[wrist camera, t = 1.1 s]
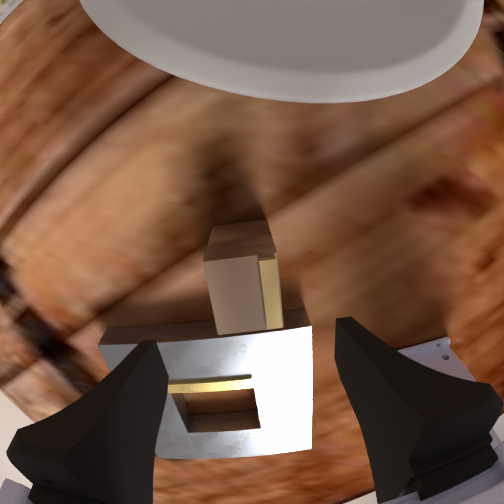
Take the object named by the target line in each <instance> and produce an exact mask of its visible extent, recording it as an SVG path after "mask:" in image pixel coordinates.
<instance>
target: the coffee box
mask: <svg viewBox="0 0 504 504" xmlns="http://www.w3.org/2000/svg"><path fill="white" fill-rule="evenodd" d="M22 1H23V0H0V24H1V23H2V22H3V21H4V20H5V18H6V17H7V16H8V15H9V14H10V13H11V12H12V11H13V10H14V9H15V8H16V7H17V6H18V5H19V4H20V3H21V2H22Z"/></svg>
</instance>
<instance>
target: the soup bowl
mask: <svg viewBox="0 0 504 504" xmlns="http://www.w3.org/2000/svg"><path fill="white" fill-rule="evenodd" d="M79 1H80V3H81V4H82V6H83V8H84V10H85V11H86V13H87V14H88V15H89V17H90V18H91V20H92V21H93V22H94V23H95V24H96V25H97V26H98V27H99V28H100V30H101V31H102V32H103V33H104V34H105V35H107V36H108V37H109V38H110V39H111V40H113V41H114V42H115V43H116V44H118V45H119V46H120V47H122V48H123V49H125V50H126V51H128V52H129V53H131V54H133V55H134V56H136V57H137V58H139V59H141V60H143V61H145V62H147V63H149V64H151V65H152V66H154V67H156V68H158V69H161V70H163V71H166V72H168V73H170V74H173V75H175V76H177V77H180V78H183V79H186V80H189V81H192V82H195V83H198V84H201V85H204V86H207V87H211V88H215V89H219V90H223V91H227V92H230V93H235V94H240V95H246V96H251V97H256V98H262V99H270V100H278V101H285V102H301V103H347V102H360V101H367V100H373V99H379V98H385V97H389V96H393V95H397V94H400V93H404V92H407V91H409V90H412V89H415V88H417V87H420V86H422V85H424V84H426V83H428V82H430V81H432V80H434V79H436V78H437V77H439V76H440V75H442V74H443V73H445V72H446V71H447V70H449V69H450V68H451V67H452V66H453V65H454V64H455V63H457V62H458V61H459V60H460V59H461V58H462V56H463V55H464V54H465V53H466V51H467V50H468V49H469V47H470V46H471V44H472V42H473V40H474V39H475V37H476V34H477V32H478V29H479V26H480V23H481V19H482V14H483V4H484V0H79Z"/></svg>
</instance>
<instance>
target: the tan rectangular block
mask: <svg viewBox="0 0 504 504" xmlns="http://www.w3.org/2000/svg"><path fill="white" fill-rule="evenodd" d="M203 264H204V269H205V274H206V279H207V284H208V289H209V294H210V299H211V304H212V309H213V314H214V318H215V323H216V327H217V332H218V335H222V334H232V333H241V332H250V331H258V330H266V329H267V330H268V329H276V328H282V327H284V326H283V315H282V303H281V292H280V281H279V270H278V259H277V251H276V248H275V245H274V242H273V238H272V235H271V232H270V229H269V225H268V222H267V219H266V220H258V221H250V222H242V223H234V224H226V225H219V226H212V230H211V234H210V237H209V241H208V245H207V249H206V253H205V256H204V260H203Z"/></svg>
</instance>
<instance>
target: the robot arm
mask: <svg viewBox="0 0 504 504" xmlns="http://www.w3.org/2000/svg"><path fill="white" fill-rule="evenodd" d="M449 344H450V338H449V337H444V338H440V339H437V340H433V341H430V342H426V343H423V344H419V345H415V346H412V347H408V348H404V349H400V350H395V349H393V348H392V347H390V346H389V345H387V344H386V343H385V342H383V341H382V340H380V339H379V338H378V337H376V336H375V335H374V334H372V333H371V332H370V331H368V330H367V329H366V328H365V327H363V326H362V325H361V324H360V323H358V322H357V321H356V320H355V319H353V318H352V317H351V316H350V317H344V318H338V319H336V331H335V361H336V365H337V369H338V372H339V376H340V379H341V381H342V384H343V386H344V388H345V391H346V393H347V396H348V398H349V400H350V402H351V405H352V407H353V410H354V412H355V414H356V417H357V419H358V422H359V424H360V427H361V430H362V434H363V438H364V441H365V445H366V449H367V453H368V457H369V461H370V465H371V470H372V475H373V480H374V485H375V491H376V497H377V502H378V504H504V441H503V442H501V441H500V439H499V438H498V436H497V434H496V433H495V431H494V430H493V428H492V427H493V426H494V424H495V422H496V421H497V419H498V417H499V416H500V414H501V411H502V408H503V401H502V399H501V398H500V397H499V395H498V394H497V393H496V391H495V390H494V389H493V387H492V386H491V385H490V384H487V383H481V382H476V380H475V379H474V377H473V376H472V375H471V374H470V372H469V371H468V370H467V368H466V367H465V366H464V365H463V363H462V362H461V361H460V359H459V358H458V357H457V356H456V354H455V353H454V352H453V351H452V350H451V348H450V347H449ZM168 381H169V375H168V373H167V370H166V367H165V365H164V362H163V359H162V356H161V354H160V351H159V348H158V345H157V342H156V340H142V341H141V342H140V343H139V344H138V345H137V346H136V347H135V348H134V349H133V350H132V351H131V352H130V353H129V354H128V355H127V356H126V357H125V358H124V359H123V360H122V361H121V362H120V363H119V364H118V365H117V366H116V367H115V368H114V369H113V370H112V371H111V372H110V373H109V374H108V375H107V376H106V377H105V378H104V379H103V380H102V381H101V382H99V383H98V384H97V385H96V386H95V387H94V388H93V389H91V390H90V391H89V392H88V393H86V394H85V395H84V396H82V397H81V398H80V399H78V400H77V401H75V402H73V403H72V404H70V405H69V406H67V407H66V408H64V409H62V410H61V411H59V412H57V413H55V414H53V415H52V416H49V417H47V418H45V419H43V420H41V421H39V422H36V423H34V424H31V425H28V426H26V427H23V428H20V429H18V430H17V432H16V434H15V436H14V438H13V439H12V441H11V444H10V445H9V447H8V449H7V452H6V453H7V456H8V458H9V460H10V462H11V463H12V464H13V465H14V466H15V467H16V468H17V469H18V470H19V471H20V472H21V473H22V474H23V475H24V476H25V477H26V478H27V479H28V480H29V481H30V482H32V483H33V486H32V488H31V489H29V488H28V487H26V486H24V485H22V484H19V483H16V482H14V481H12V480H9V479H5V480H4V482H3V484H2V487H1V489H0V504H153V470H154V458H155V448H156V442H157V437H158V433H159V428H160V424H161V420H162V416H163V412H164V407H165V403H166V399H167V391H168Z"/></svg>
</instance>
